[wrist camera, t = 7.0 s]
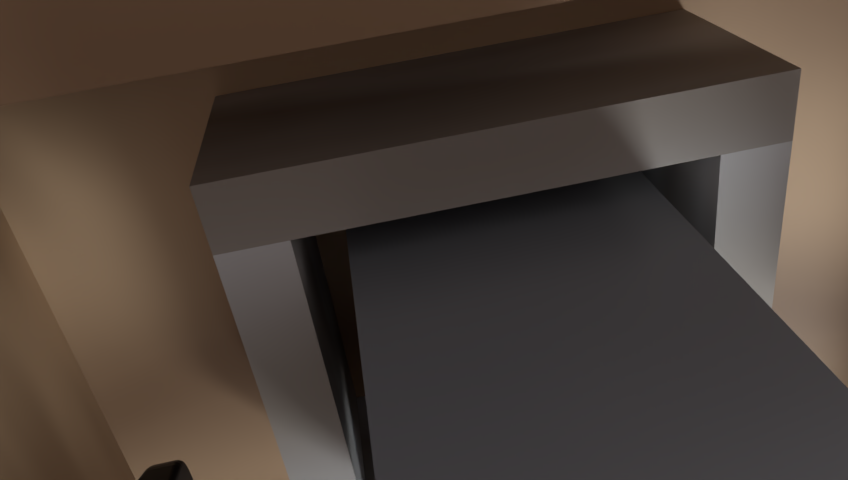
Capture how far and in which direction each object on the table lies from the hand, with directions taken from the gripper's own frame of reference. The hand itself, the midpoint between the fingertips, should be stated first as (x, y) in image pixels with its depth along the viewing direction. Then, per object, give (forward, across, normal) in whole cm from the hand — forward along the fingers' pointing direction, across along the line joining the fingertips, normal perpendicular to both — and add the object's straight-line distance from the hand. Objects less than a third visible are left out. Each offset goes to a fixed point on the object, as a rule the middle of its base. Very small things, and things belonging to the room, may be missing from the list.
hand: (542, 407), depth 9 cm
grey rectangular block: (+4, 0, 0) cm, 4 cm away
